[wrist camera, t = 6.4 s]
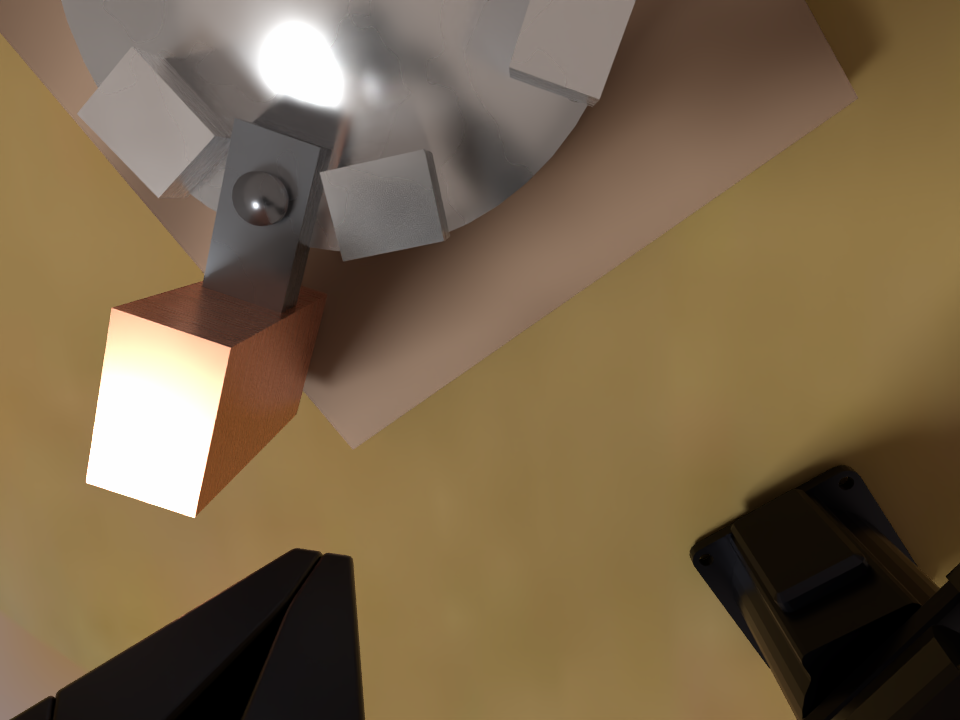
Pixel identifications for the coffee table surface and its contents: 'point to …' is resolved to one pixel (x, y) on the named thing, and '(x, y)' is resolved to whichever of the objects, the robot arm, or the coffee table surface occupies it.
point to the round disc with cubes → (302, 184)
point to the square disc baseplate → (527, 193)
